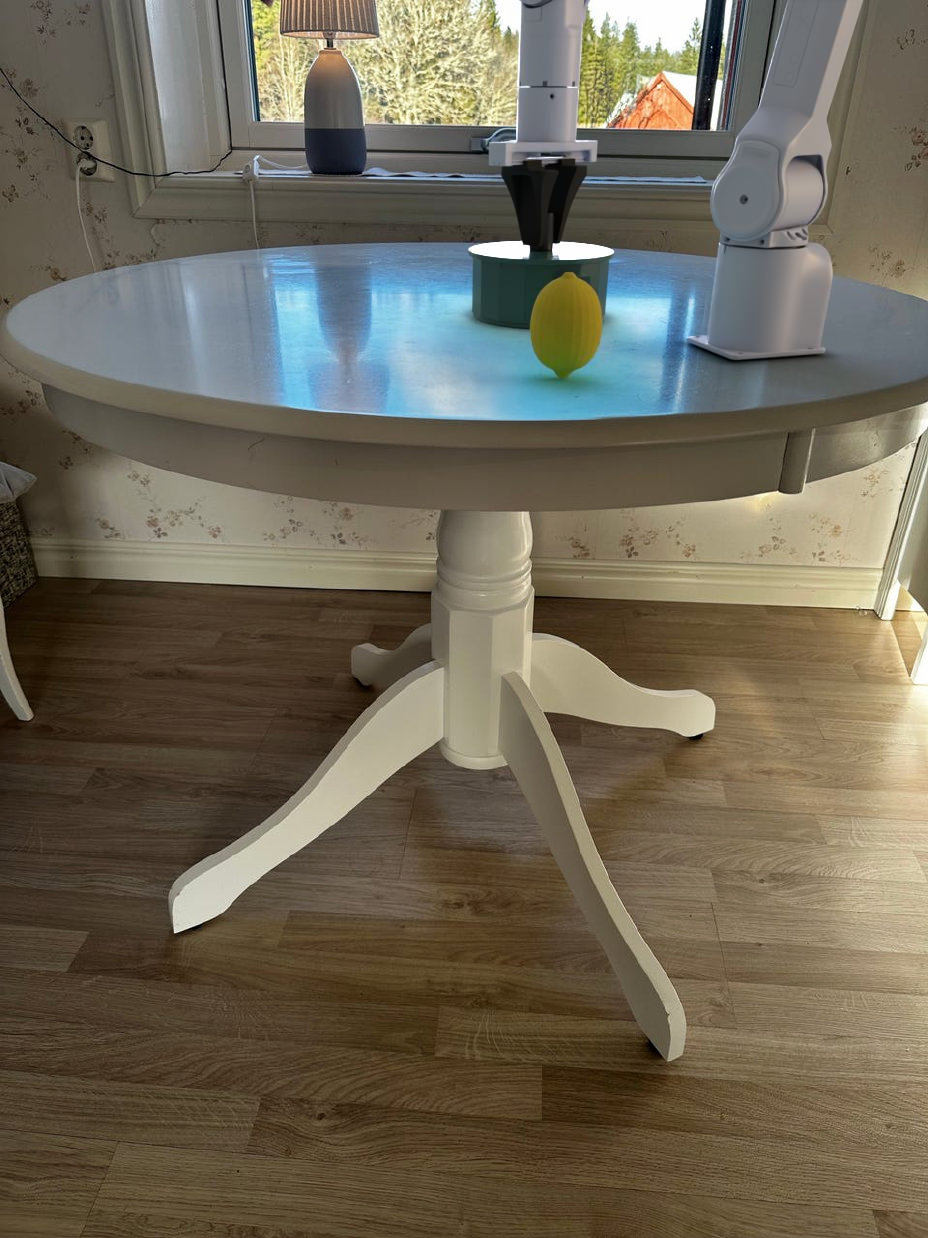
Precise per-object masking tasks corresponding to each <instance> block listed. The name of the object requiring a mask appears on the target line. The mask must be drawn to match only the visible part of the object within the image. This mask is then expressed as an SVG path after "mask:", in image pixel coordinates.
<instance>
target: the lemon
mask: <svg viewBox="0 0 928 1238" xmlns="http://www.w3.org/2000/svg"><path fill="white" fill-rule="evenodd" d="M602 334H603V320H602V312H601V306H600V302H599V299H598V296H597V294H596V292H595V291H594V290H593V288H592V287H591V286H590V285H589V284H588V283H586V282H585V281H583V280H581V279H579V278H577V277H576V275H575V274H574V273H572V272H566V273H564V274H563V276H562V277H560V278H557V279H555V280H553V281H551V282H550V283H549V284H547V285H546V286H545V287H544V288H543V289H542V291H541V292H540V293H539V295H538V296H537V299H536V301H535V304H534V307H533V311H532V315H531V321H530V328H529V335H530V336H529V337H530V343H531V346H532V350H533V353H534V354H535V356H536V358H537V359H538V361H539V362H540V363H541V364H542V365H543V366H544V367H546V368H547V369H550V370H551V371H553V372H554V374H555V376H557V377H558V379H562V380H566V379H568V378H569V377H570V376H571V375H572V374H573V372H575V371H577V370H580V369H582V368H583V367H585V366H586V365H587V364H588V363H589V362H590V361H591V360H593V358H594V356H595V355H596V354H597V351H598V349H599V347H600V344H601V340H602Z"/></svg>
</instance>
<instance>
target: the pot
mask: <svg viewBox="0 0 928 1238" xmlns="http://www.w3.org/2000/svg"><path fill="white" fill-rule="evenodd" d="M609 268H610V260H608V261H604V262H598V263H591V264H579V265H520V264H507V263H497V262H490V261H484V260H479V259H476V258H473V257H472V289H471V290H472V292H471V294H472V295H471V297H472V298H471V299H472V300H471V301H472V303H471V307H472V308H471V312H472V316H473V318H474V319H476V320H478V321H480V322H483V323H487V324H490V325H495V326H501V327H508V328H509V327H510V328H516V329H517V328H518V329H530V321H531V315H532V311H533V307H534V304H535V301H536V299H537V296H538V295H539V293H540V292H541V291H542V289H543V288H544V287H545V286H546V285H547V284H549V283H550V282H551V281H553V280H555V279H557V278H560V277H562V276H563V274H564V273H566V272H572V273H574V274H575V275H576V277H577V278H579V279H581V280H583V281H585V282H586V283H588V284H589V285H590V286H591V287H592V288H593V290H594V291H595V292H596V294H597V296H598V299H599V302H600V306H601V312H602V321H603V320H604V319H605V315H606V308H607V307H606V305H607V294H608V283H609V282H608V281H609Z"/></svg>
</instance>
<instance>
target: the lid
mask: <svg viewBox="0 0 928 1238" xmlns="http://www.w3.org/2000/svg"><path fill="white" fill-rule="evenodd" d="M554 219H555V212H552V211H547V219H546V229H545V236H544V241H543V244H542V246H540V247H535V246H526V245H522V240H520V241H517V240H516V241H499V242H488V243H481V244H477V245H473V246H471V247H469V248H468V256H469V257H471V258H472V259H473V258H476V259H479V260H484V261H490V262H497V263H507V264H520V265H579V264H591V263H598V262H604V261H608V260H609V261H611V260H612V259H614V256H615V251H614V250H613V249H611V248H609V247H606V246H601V245H596V244H589V243H588V244H587V243H582V242H581V243H579V242H568V241H560V244H553V239H554Z"/></svg>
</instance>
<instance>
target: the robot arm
mask: <svg viewBox="0 0 928 1238" xmlns="http://www.w3.org/2000/svg"><path fill="white" fill-rule="evenodd" d="M518 1H520V3H519V30H518V31H519V33H518V35H519V36H518V63H517V65H518V66H517V67H518V68H517V69H518V71H517V98H516V99H517V102H516V103H517V104H516V133H515V134H516V138H515V140H513V139H511V140H508V141H489V142H488V166H490V167H491V166H493V167H494V166H495V167H497V166H498V167H500V177H501V178H502V181H503V182H504V184H505V187H506V188H507V190H508V192H509V193H508V194H509V195H510V198H511V200H512V203H513V208H514V210H515V216H516V220H517V224H518V229H519V235H520V241H522V245H526V246H535V247H540V246H542V244H543V241H544V236H545V229H546V219H547V211H552V212H555V219H554V239H553V244H560V242H562V238H563V235H564V231H565V228H566V223H567V220H568V217H569V214H570V210H571V207H572V206H573V202H574V200H575V198H576V195H577V193H578V191H579V189H580V187H581V186H582V184H583V182H584V180H585V179H586V177H587V176H588V165H587V164H576V163H584V162H585V163H596V162H597V157H598V145H599V144H598V142H599V141H598V140H592V139H591V140H589V139H587V140H586V139H585V140H584V139H577V131H578V130H577V128H578V114H579V113H578V111H579V98H580V97H579V95H580V77H581V76H580V75H581V58H582V42H583V27H584V24H586V22H587V9H588V5H589V4H590V1H591V0H518ZM863 1H864V0H787V2H786V5H785V9H784V13H783V15H782V20H781V24H780V27H779V31H778V35H777V39H776V41H775V46H774V50H773V53H772V57H771V61H770V65H769V69H768V72H767V76H766V78H765V83H764V87H763V90H762V94H761V98H760V101H759V105H758V108H757V110H755V112H754V114H753V115H752V116H751V118H750V119H749V120H748V121H747V123H746V124H745V125H744V127H743V128H742V129H741V131H740V132H739V134H738V135H737V137H736V139H735V143H734V147H733V151H732V154H731V156H730V158H729V160H728V161H727V163H726V164H725V166H724V167H723V169H721V171H720V173H718V176H717V177H716V179H715V181H714V182H713V185H712V188H711V192H710V198H709V199H710V200H709V208H710V209H709V210H710V214H711V218H712V220H713V221H712V222H713V223H714V225H715V227H716V228H717V230H718V231H719V232H720V233H719V241H718V247H717V255H716V262H715V263H716V264H715V271H714V279H713V285H712V294H711V302H710V310H709V315H708V316H709V318H708V323H707V324H708V325H707V332H706V334H702V335H701V334H700V335H689V336H687V337H686V342H687V343H689V344H692V345H694V346H697V347H699V348H701V349H704V350H707V351H709V352H712V353H715V354H717V355H719V356H721V357H724V358H727V359H729V360H732V361H740V360H741V361H742V360H755V359H768V358H769V359H770V358H782V357H795V356H807V355H820V354H821V355H822V354H825V353H826V347H824V346H821V344H822V343H821V342H822V338H823V333H824V327H825V322H826V317H827V312H828V308H829V307H828V306H829V301H830V296H831V291H832V290H831V289H832V286H833V279H834V278H833V277H834V275H833V274H834V271H833V270H834V269H833V262H832V258H831V255H830V253H829V251H828V250H827V249H826V248H825V247H824V246H823V245H822V244H820V243H818V242H809V235H810V234H809V226H810V225H812V224H813V223H814V222H815V221H816V220H817V219H818V218H819V216H820V215H821V213H822V211H823V209H824V207H825V205H826V201H827V199H828V193H829V192H828V191H829V183H828V175H827V167H828V161H829V156H830V153H831V151H832V147H833V146H832V145H833V144H832V138H831V134H830V130H829V125H828V116H829V112H830V108H831V105H832V102H833V99H834V95H835V92H836V89H837V85H838V83H839V80H840V78H841V77H840V76H841V73H842V69H843V67H844V63H845V60H846V57H847V53H848V50H849V47H850V44H851V41H852V37H853V35H854V31H855V28H856V24H857V22H858V19H859V16H860V15H859V14H860V13H861V12H860V11H861V8H862V5H863ZM542 153H549V155H550V156H549V157H541V154H542ZM543 164H544V165H543Z"/></svg>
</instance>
